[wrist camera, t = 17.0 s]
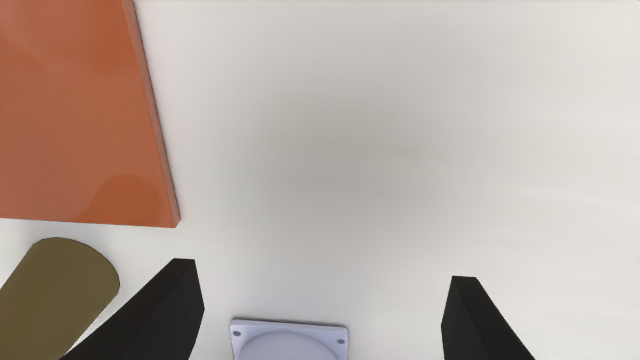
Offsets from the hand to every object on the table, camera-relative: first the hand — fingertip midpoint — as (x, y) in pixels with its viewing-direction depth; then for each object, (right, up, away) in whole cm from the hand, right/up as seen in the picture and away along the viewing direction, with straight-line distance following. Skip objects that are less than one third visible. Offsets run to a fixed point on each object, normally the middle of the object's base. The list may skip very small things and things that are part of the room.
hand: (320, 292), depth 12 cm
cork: (-16, -3, +16) cm, 23 cm away
